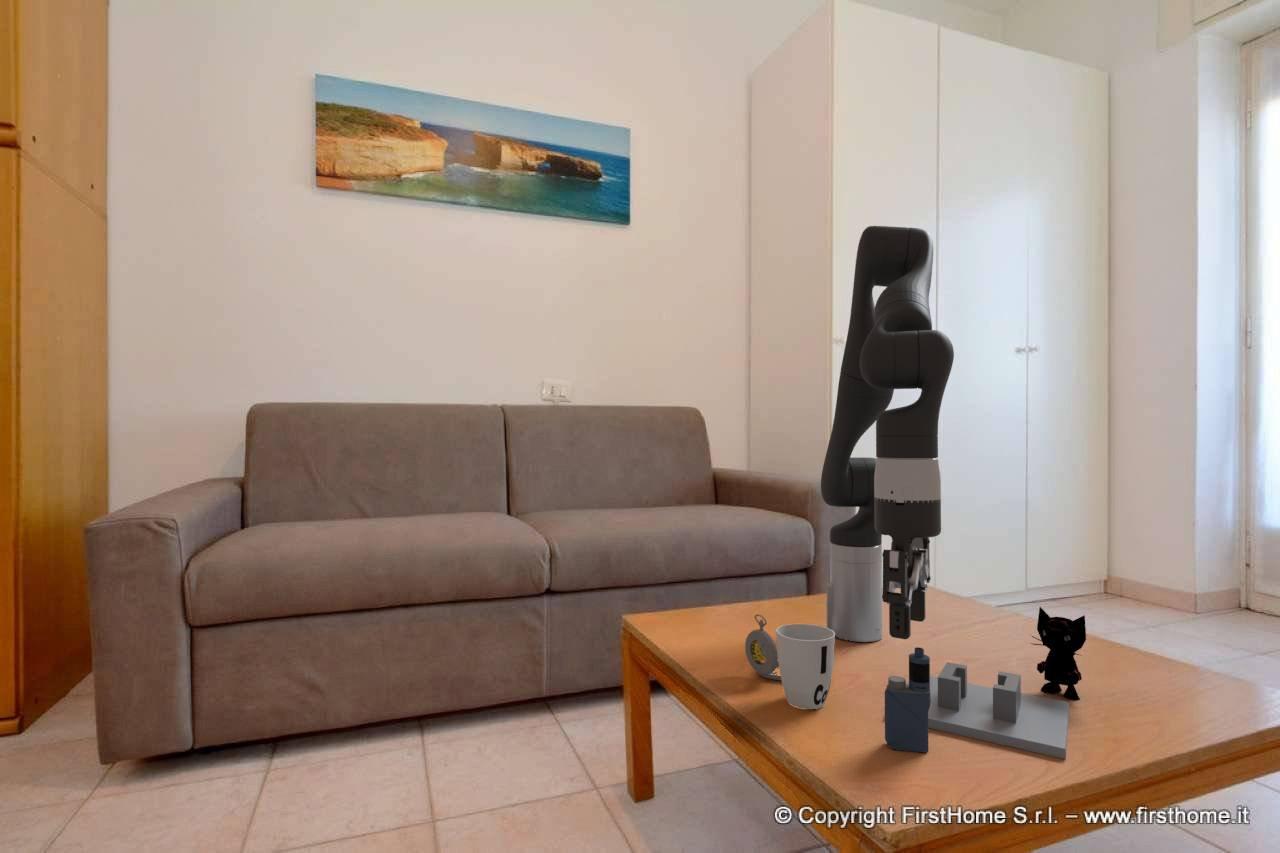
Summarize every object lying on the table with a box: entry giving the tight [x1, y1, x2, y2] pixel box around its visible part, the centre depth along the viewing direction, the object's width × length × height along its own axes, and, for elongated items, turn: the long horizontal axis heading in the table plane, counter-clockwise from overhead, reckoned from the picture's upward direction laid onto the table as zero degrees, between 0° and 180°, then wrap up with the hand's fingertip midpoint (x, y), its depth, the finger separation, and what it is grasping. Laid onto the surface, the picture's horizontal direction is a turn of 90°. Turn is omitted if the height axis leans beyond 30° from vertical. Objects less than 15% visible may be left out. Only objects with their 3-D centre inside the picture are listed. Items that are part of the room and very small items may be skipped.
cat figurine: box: [1029, 606, 1087, 701], centre depth 98 cm, size 7×7×12 cm
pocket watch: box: [745, 614, 782, 681], centre depth 105 cm, size 8×8×10 cm
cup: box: [775, 623, 836, 710], centre depth 95 cm, size 8×8×10 cm
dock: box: [906, 661, 1070, 760], centre depth 90 cm, size 20×16×5 cm
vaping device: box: [884, 646, 931, 753], centre depth 81 cm, size 3×5×12 cm, turn 78°
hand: (908, 628), depth 81 cm, fingers open, 8 cm apart
